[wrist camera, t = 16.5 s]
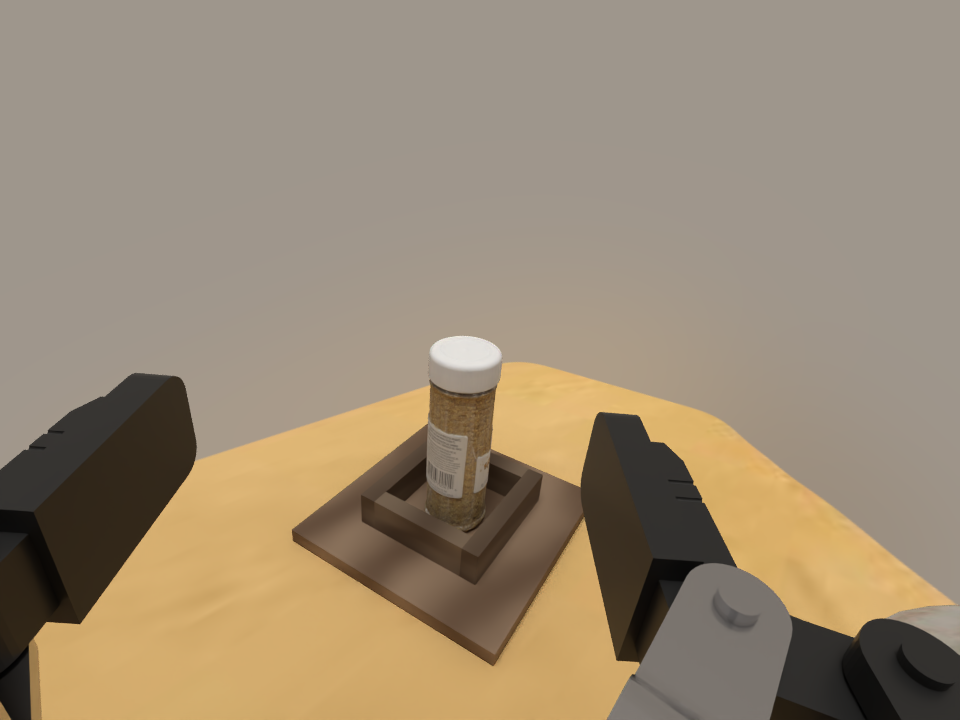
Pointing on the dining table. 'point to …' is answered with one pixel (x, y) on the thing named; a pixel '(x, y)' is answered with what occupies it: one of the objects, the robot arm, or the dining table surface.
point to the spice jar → (460, 428)
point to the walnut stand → (448, 544)
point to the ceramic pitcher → (935, 622)
